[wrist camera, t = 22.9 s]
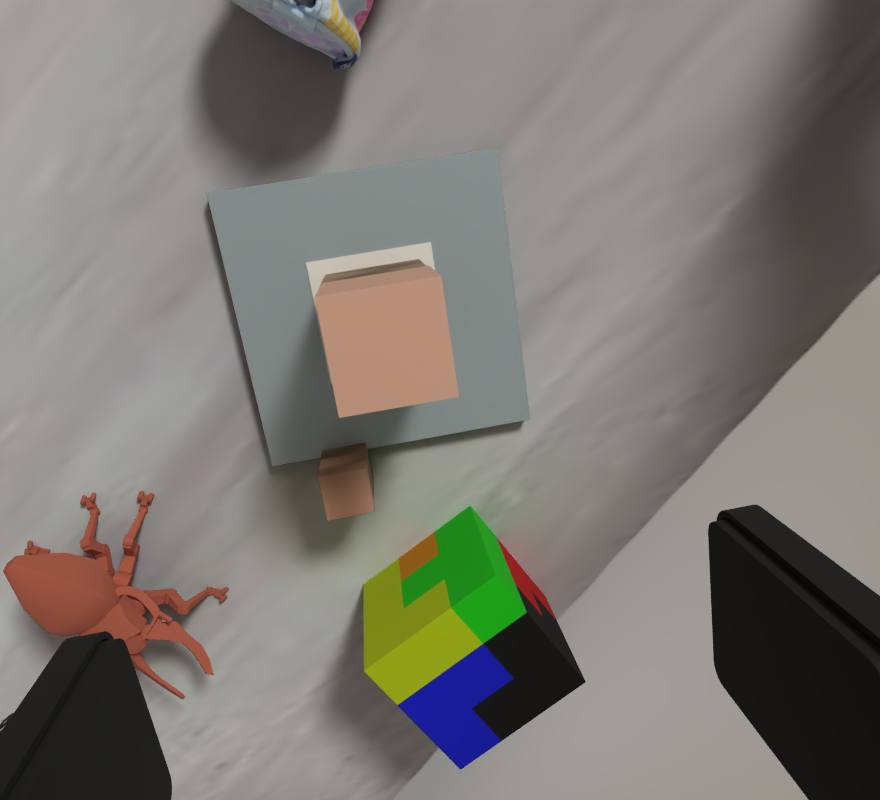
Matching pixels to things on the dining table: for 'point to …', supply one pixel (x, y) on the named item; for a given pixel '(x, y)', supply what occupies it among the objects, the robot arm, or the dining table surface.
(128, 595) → the beetle
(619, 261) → the dining table surface
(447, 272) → the board
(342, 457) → the tower
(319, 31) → the pencil case
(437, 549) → the puzzle toy
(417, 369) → the terracotta block
